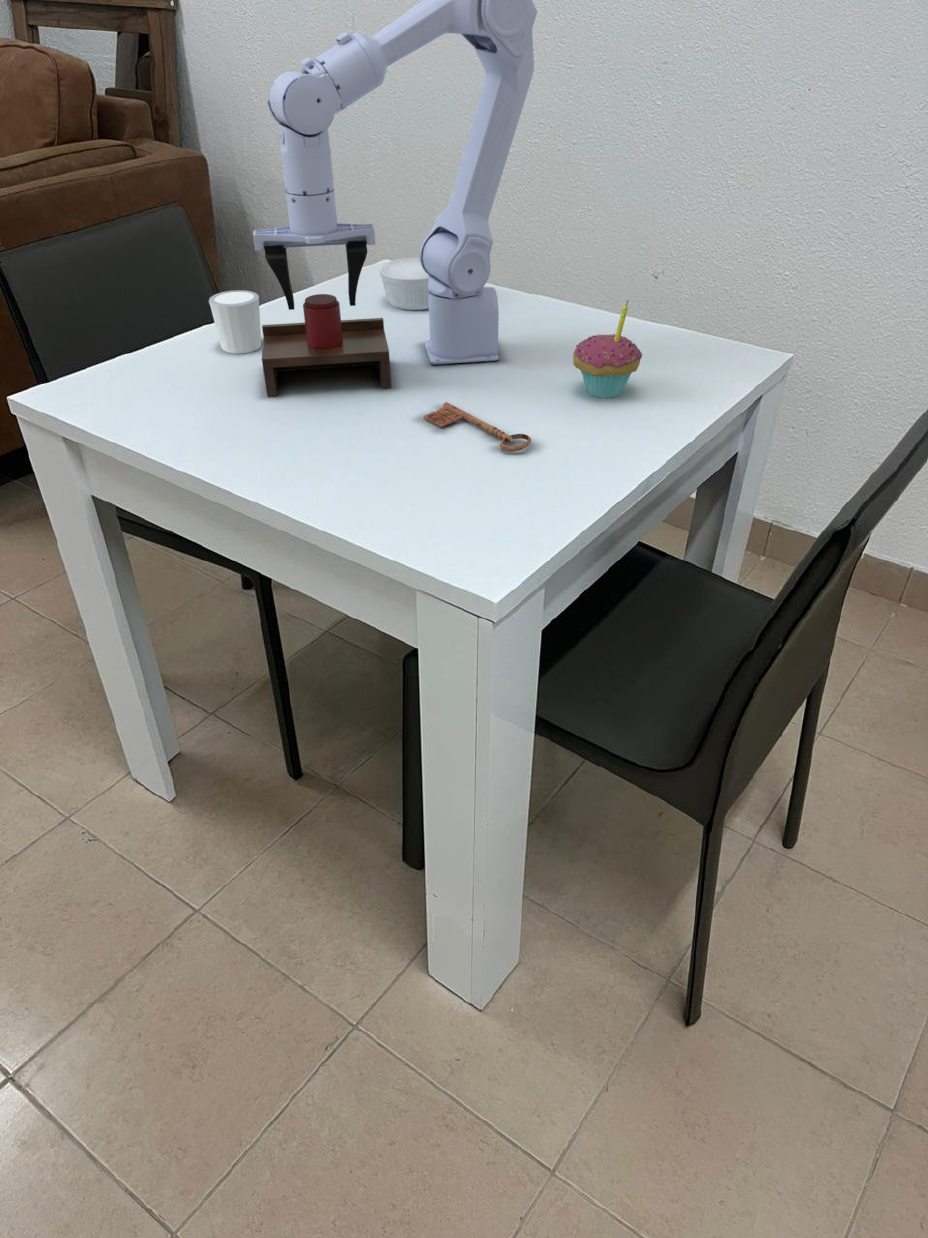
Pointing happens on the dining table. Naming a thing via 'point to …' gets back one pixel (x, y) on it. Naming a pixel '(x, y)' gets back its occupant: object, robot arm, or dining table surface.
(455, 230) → the robot arm
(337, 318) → the red lidded jar
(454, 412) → the key
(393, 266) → the ramekin
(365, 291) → the dining table surface
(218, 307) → the white cup
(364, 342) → the shelf
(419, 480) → the dining table surface
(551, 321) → the dining table surface
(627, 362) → the cupcake
